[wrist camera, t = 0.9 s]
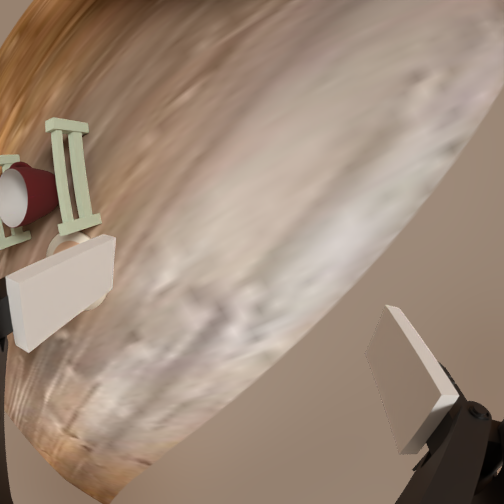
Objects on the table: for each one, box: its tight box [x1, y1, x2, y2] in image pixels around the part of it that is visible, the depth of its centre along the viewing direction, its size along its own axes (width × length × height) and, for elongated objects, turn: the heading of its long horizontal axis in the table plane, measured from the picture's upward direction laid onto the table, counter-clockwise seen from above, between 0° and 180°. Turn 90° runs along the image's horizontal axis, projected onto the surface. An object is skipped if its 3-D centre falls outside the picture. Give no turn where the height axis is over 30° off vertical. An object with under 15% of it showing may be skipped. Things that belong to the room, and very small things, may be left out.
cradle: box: [0, 117, 101, 250], centre depth 36 cm, size 15×18×8 cm
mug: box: [0, 162, 59, 228], centre depth 35 cm, size 10×8×10 cm
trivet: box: [46, 231, 108, 311], centre depth 43 cm, size 13×13×1 cm
